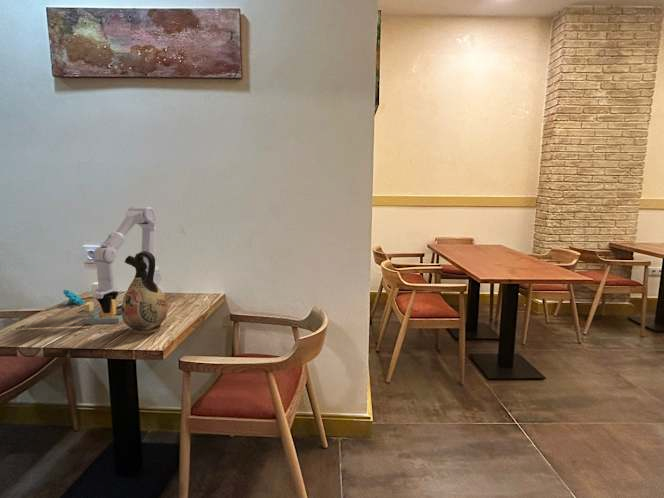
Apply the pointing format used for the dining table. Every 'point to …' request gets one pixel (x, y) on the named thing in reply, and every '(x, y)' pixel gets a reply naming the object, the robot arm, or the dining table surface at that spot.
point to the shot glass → (94, 288)
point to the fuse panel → (90, 308)
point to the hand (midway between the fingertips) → (108, 311)
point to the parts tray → (94, 319)
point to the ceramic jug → (143, 297)
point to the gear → (73, 298)
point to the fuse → (112, 309)
